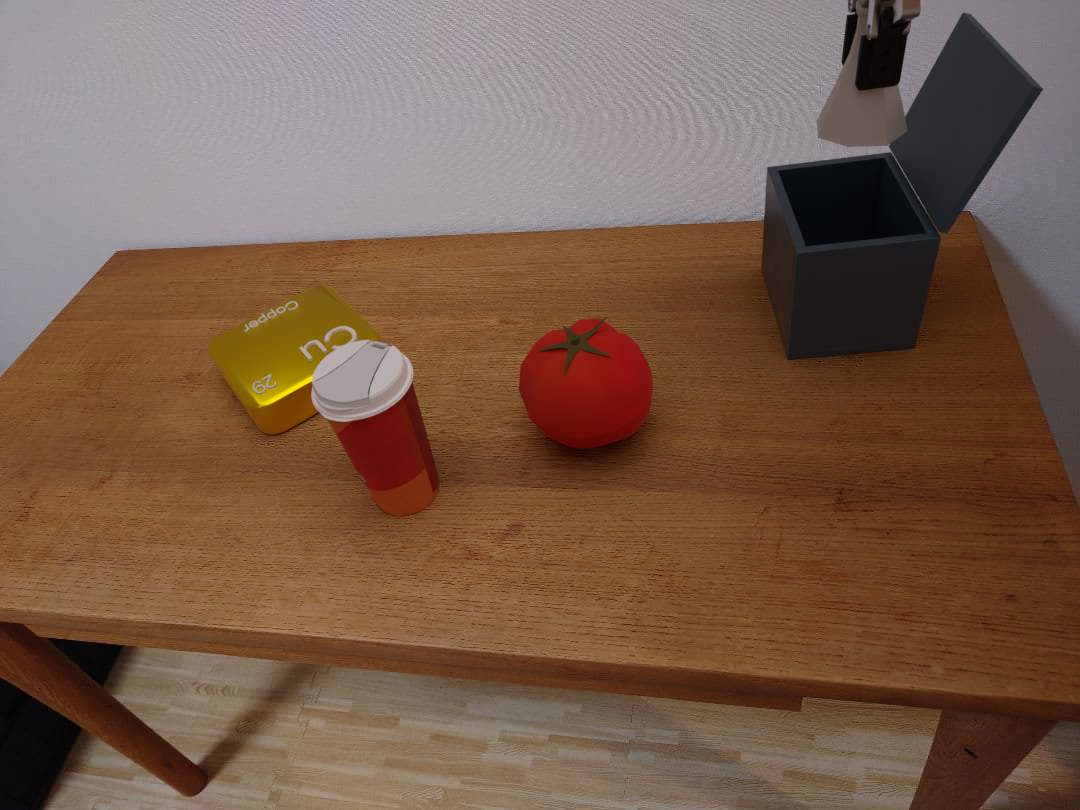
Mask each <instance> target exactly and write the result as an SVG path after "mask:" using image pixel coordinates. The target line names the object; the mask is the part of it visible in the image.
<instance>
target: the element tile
mask: <svg viewBox="0 0 1080 810" xmlns="http://www.w3.org/2000/svg"><path fill="white" fill-rule="evenodd" d="M362 340H371V342H375V341H377V342H382V340H381V337H380V335H379V332H378V331H377V330H376V329H375V328H374V327H373V326H372V325H371V324H370V323H369V322H368V321H367V320H366V319H365V318H364V317H363V316H362V315H361V314H359V312H358V311H357V310H355V309H354V308H353V307H352V305H350V304H349V302H347V301H346V300H345V299H344V298H343V297H342V296H341V294H339V293H338V292H337V291H336V289H334V288H333V287H332V286H329V285H326V284H318V285H314V286H312V287H309V288H307V289H305V290H303V291H302V292H299V293H298V294H295V295H293V296H292V297H289V298H288V299H286V300H284V301H281V302H280V303H278V304H276V305H274V306H272V307H270V308H268V309H266V310H264V311H261V312H260V313H259V314H255V316H252V317H250V318H248V319H246V320H244V321H243V322H241V323H238V324H237V325H234V326H233V327H231V328H229V329H227V330H225V331H223V332H221V333H219V334H218V335H216V336H215V337H213V338H212V339H211V340H210V342H209V344H208V346H207V351H208V354H209V356H210V357H211V359H212V361H213V362H214V364H215V366H216V367H217V369H218V371H219V373H220V375H221V376H222V378H223V379H224V381H225V382H226V383H227V385H228V386H229V388H230V389H231V390H232V392H233V394H234V395H235V397H236V398H237V399H238V401H239V402H240V404H241V406H242V407H243V408H244V410H245V411H246V413H247V414H248V415H249V417H250V418H251V420H252V421H253V422H254V424H255V425H256V427H257V429H258V430H259V431H260V432H262V433H264V434H266V435H278V434H282V433H284V432H286V431H288V430H290V429H292V428H294V427H295V426H297V425H299V424H301V423H303V422H304V421H306V420H308V419H309V418H311V417H313V416H315V415H316V414H318V413H320V412H319V411H318V410H317V409H316V408H315V406H314V405H313V402H312V397H311V392H312V378H313V374H314V371H315V369H316V368H317V366H318V365H319V363H320V362H321V361H322V360H323V359H324V358H325V357H326V356H327V355H329V354H330V353H331V352H333V351H334V350H336V349H338V348H340V347H342V346H344V345H347V344H349V343H353V342H356V341H362Z"/></svg>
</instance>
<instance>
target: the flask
mask: <svg viewBox="0 0 1080 810" xmlns="http://www.w3.org/2000/svg"><path fill="white" fill-rule="evenodd" d="M894 3H895V0H890V1H883V2H882V4H881V14H882V12H883V11H884V9H885V8H886V7H889V6H892V5H893V4H894ZM868 9H869V0H858V1H856V11H857V15H858V22H857V29H856V33H855V36H854V39H853V43H852V46H851V49H850V53H849V55H848V57H847V59H846V61H845V64H844V66H843V65H842V68H841V70H840V73H839V74H838V77H837V79H836V81H835V83H834V86H833V87H832V89H831V91H830V93H829V95H828V97H827V99H826V100H825V103H824V105H823V107H822V109H821V111H820V114H819V115H818V118H817V119H816V131H817V138H818V139H821V140H824V141H827V142H830V143H834V144H837V145H839V146H844V147H847V148H856V147H857V148H862V147H863V148H864V147H865V148H866V147H887V146H889V145H890V143H892V142H893V141H894V140H896V139H897V138H898V137H900V136H901V135H903V134H904V133H905V132H907V131H908V130H907V125H906V119H905V116H906V115H905V111H904V104H903V101H902V96H901V91H900V87H899V84H898V85H896V86H892V87H885V88H877V89H870V90H862V91H859V90H858V89H857V88H856V86H855V79H856V71H857V63H858V56H859V48H860V40H861V36H862V35H867V20H868ZM881 14H880V15H881Z"/></svg>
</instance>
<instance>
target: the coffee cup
mask: <svg viewBox="0 0 1080 810" xmlns="http://www.w3.org/2000/svg"><path fill="white" fill-rule="evenodd" d="M413 379H414V367H413V364H412V362H411V360H410V359H409V357H407V356H406V355H405V354H404V353H402V352H401V351H400V349H398V347H397V346H395V345H393V344H392V345H389V343H385V342H382V341H381V342H377V341H375V342H371V340H362V341H356V342H353V343H349V344H347V345H344V346H342V347H340V348H338V349H336V350H334V351H333V352H331V353H330V354H329V355H327V356H326V357H325V358H324V359H323V360H322V361H321V362H320V363H319V365H318V366H317V368H316V369H315V371H314V374H313V378H312V392H311V397H312V402H313V405H314V406H315V408H316V409H317V410H318V411H319V412H318V413H320V415H322V417H323V418H324V419H326V420H327V422H328V424H329V426H330V427H331V429H332V431H333V432H334V434H335V436H336V437H337V439H338V441H339V443H340V444H341V446H342V448H343V449H344V451H345V453H346V455H347V457H348V459H349V460H350V462H351V463H352V465H353V467H354V469H355V470H356V472H357V474H358V475H359V477H360V479H361V480H362V482H363V483H364V486H365V487H366V489H367V490H368V492H369V494H370V495H371V497H372V499H373V500H374V502H375V503H376V505H377V507H378V508H380V509H381V510H382V511H383V512H384V513H386V514H388V515H391V516H395V517H406V516H410V515H414V514H416V513H418V512H420V511H422V510H424V509H425V508H427V507H428V506H429V505H430V504H431V503H432V502H433V501H434V500H435V498H436V496H437V494H438V492H439V489H440V480H439V475H438V471H437V466H436V462H435V459H434V455H433V450H432V447H431V444H430V440H429V436H428V433H427V429H426V425H425V423H424V419H423V416H422V411H421V408H420V405H419V404H420V403H419V401H418V397H417V393H416V390H415V386H414V383H413Z"/></svg>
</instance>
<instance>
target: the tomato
mask: <svg viewBox="0 0 1080 810" xmlns="http://www.w3.org/2000/svg"><path fill="white" fill-rule="evenodd" d="M608 317H609V315H608V316H606V317H604V318H603V319H602V318H598V317H596V318H595V317H593V318H580V319H578V320H577V321H576V322H574V323H573V324H571V325H570V326H569V327H566V326H565V325H562V328H559V329H553V330H551V331H549V332H546V333H545V334H544V335H542V336H541V337H540V338H539V339H538V340H537V341H535V342H534V343H533V345H532V347H531V348H530V350H529V351H528V353H527V354H526V355H525V357H524V359H523V360H522V362H521V364H520V365H519V366H520V367H519V379H518V380H519V381H518V392H519V395H520V397H521V399H522V402H523V404H524V408H525V410H526V414H527V415H528V418H529V420H530V421H531V422H532V423H533V424H534V425H535V426H536V427H537V428H538V429H539V430H540V431H541V432H542V433H543V435H545V437H547V438H549V439H551V440H552V441H555V442H558V443H559V444H561V445H564V446H566V447H569V448H570V447H571V448H576V449H577V448H578V449H582V450H583V449H584V450H585V449H595V448H599V447H603V446H606V445H608V444H612V443H614V442H617V441H621V440H624V439H627V438H629V437H630V436H632V435H633V434H635V433H636V432H637V431H638V430H639V429H640V428H641V426H642V425H643V424H644V422H645V421H646V419H647V418H648V416H649V414H650V410H651V406H652V400H653V392H654V380H653V379H654V378H653V373H652V369H651V366H650V364H649V362H648V360H647V358H646V356H645V354H644V352H643V351H642V349H641V347H640V346H639V344H638V343H637V342H636V341H635V340H634V339H633V338H632V337H630V336H629V335H628V334H627V333H625V332H619V331H618V330H617V329H616V328H615V327H614V326H612V325H611V324H609V323H607V322H606V319H607V318H608Z"/></svg>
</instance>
